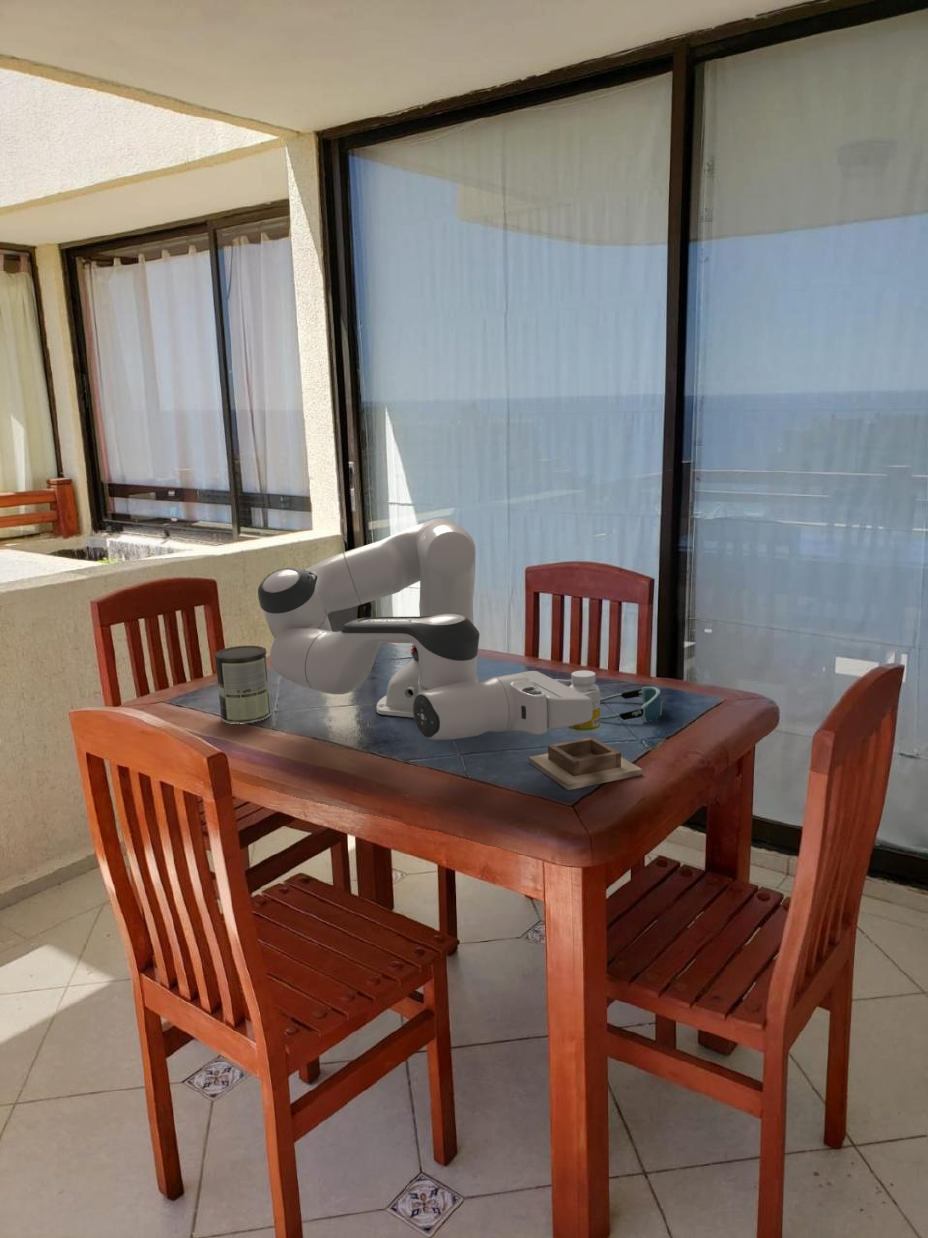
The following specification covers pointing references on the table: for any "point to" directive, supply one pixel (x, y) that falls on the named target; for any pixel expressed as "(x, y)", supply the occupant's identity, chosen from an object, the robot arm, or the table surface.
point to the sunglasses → (650, 705)
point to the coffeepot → (346, 616)
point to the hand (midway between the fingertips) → (588, 689)
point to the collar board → (584, 763)
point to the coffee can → (243, 684)
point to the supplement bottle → (582, 684)
